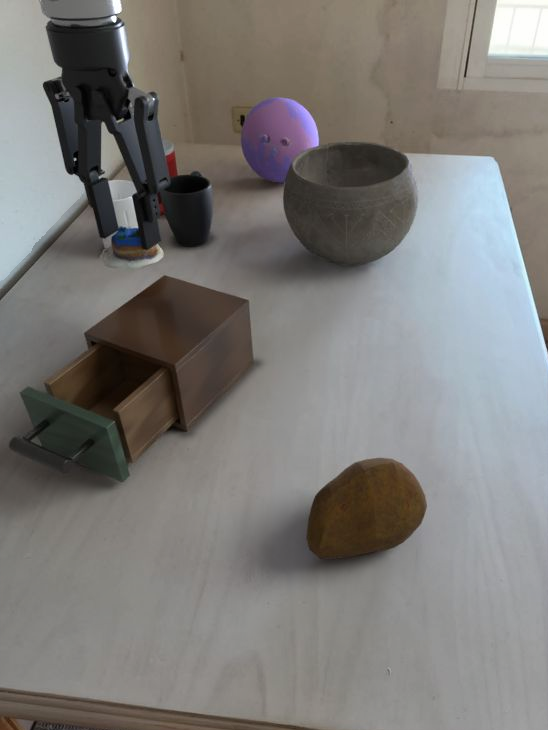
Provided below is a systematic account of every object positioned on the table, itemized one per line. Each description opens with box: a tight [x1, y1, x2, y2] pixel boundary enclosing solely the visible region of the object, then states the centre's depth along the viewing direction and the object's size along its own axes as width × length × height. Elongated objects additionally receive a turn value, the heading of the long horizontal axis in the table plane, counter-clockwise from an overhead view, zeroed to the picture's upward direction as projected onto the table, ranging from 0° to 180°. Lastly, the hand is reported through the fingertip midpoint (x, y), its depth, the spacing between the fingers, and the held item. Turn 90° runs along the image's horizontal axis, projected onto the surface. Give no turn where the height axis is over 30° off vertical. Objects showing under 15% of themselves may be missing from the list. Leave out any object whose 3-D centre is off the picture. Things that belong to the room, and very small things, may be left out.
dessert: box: [99, 226, 164, 270], centre depth 79 cm, size 8×7×6 cm
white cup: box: [91, 179, 138, 250], centre depth 101 cm, size 8×8×10 cm
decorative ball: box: [240, 97, 320, 184], centre depth 122 cm, size 15×15×15 cm
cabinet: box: [83, 274, 255, 432], centre depth 76 cm, size 15×13×10 cm
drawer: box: [8, 343, 179, 483], centre depth 67 cm, size 18×11×8 cm, turn 153°
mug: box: [160, 170, 214, 248], centre depth 105 cm, size 8×12×10 cm
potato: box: [306, 457, 428, 560], centre depth 59 cm, size 8×12×9 cm
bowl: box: [282, 141, 419, 266], centre depth 100 cm, size 21×21×15 cm
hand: (130, 238), depth 77 cm, fingers closed on dessert, 6 cm apart
